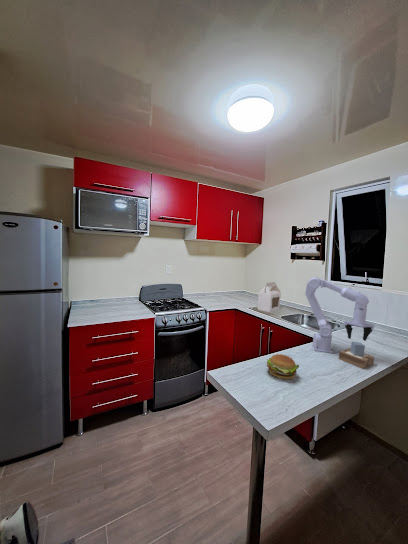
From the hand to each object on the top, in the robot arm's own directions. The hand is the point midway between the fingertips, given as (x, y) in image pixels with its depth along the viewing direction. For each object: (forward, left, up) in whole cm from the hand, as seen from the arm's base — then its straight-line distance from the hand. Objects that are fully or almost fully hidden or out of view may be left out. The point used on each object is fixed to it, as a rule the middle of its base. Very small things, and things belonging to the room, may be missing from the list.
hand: (356, 339), depth 128 cm
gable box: (-40, +98, -11) cm, 107 cm away
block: (-2, -7, -6) cm, 9 cm away
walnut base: (-2, -6, -10) cm, 12 cm away
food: (-44, -33, -11) cm, 56 cm away
